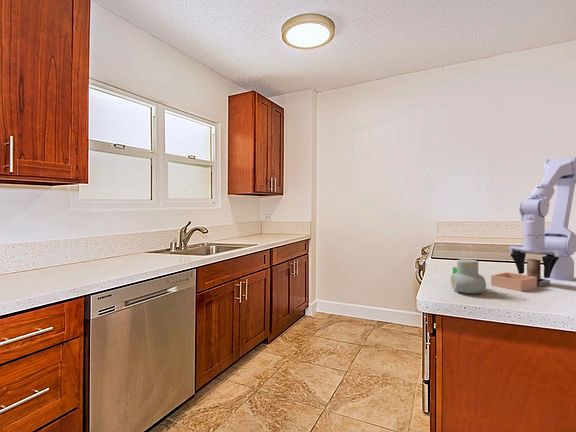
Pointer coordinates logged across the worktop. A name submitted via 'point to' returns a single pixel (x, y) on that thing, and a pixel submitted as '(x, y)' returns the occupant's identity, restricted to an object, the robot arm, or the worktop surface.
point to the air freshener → (468, 277)
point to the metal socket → (543, 283)
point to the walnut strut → (534, 268)
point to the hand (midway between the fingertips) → (533, 275)
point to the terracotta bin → (514, 281)
